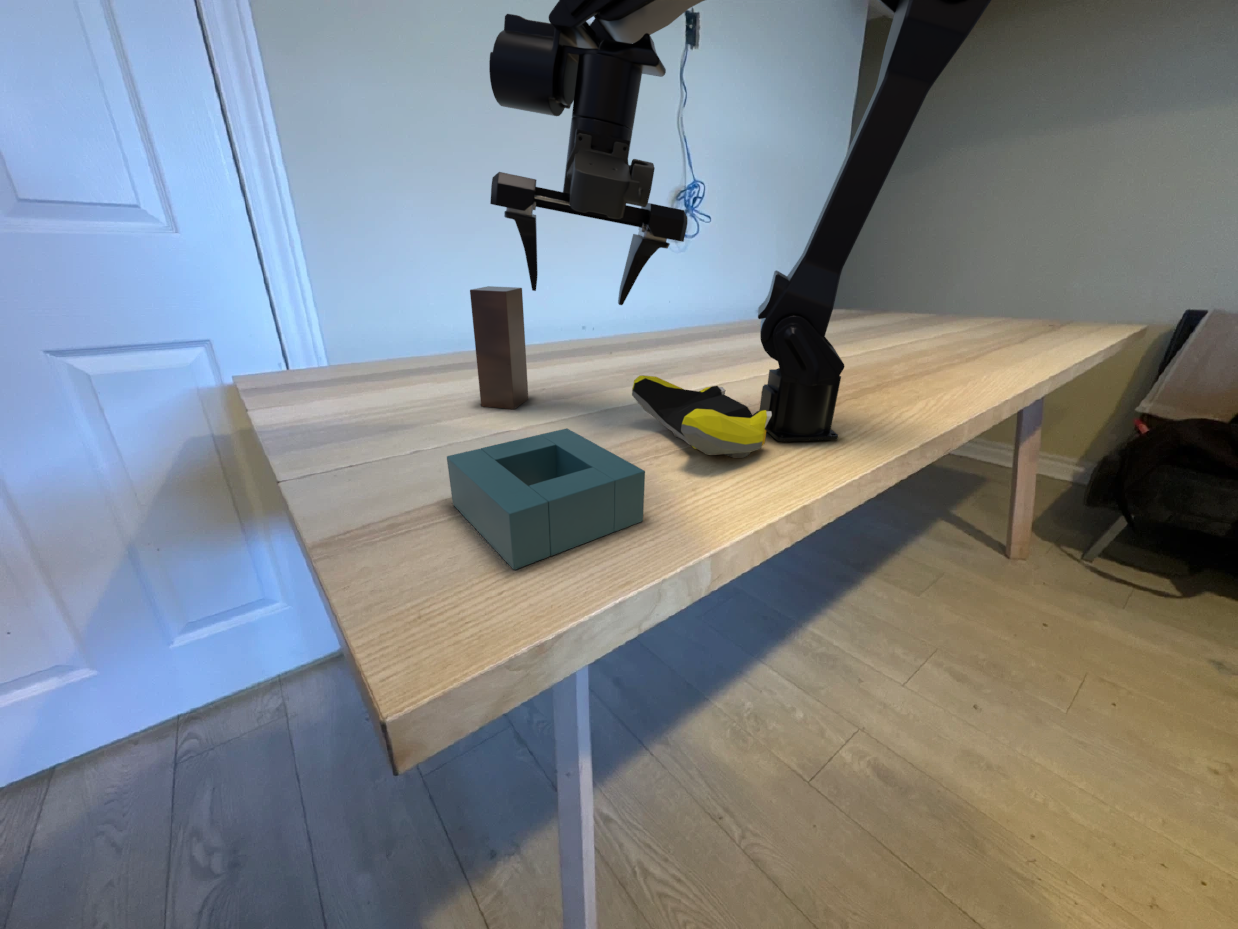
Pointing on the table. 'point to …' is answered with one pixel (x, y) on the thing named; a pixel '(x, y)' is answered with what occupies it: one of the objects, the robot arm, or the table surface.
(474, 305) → the pad post
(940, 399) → the table surface
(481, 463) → the base pad
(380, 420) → the table surface
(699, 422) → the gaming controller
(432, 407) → the table surface
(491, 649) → the table surface
